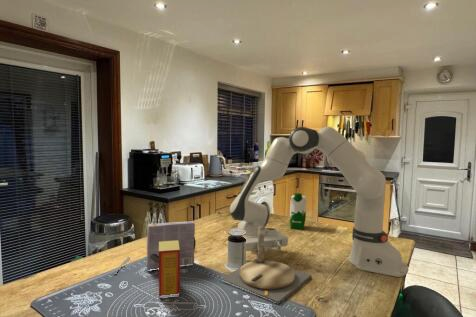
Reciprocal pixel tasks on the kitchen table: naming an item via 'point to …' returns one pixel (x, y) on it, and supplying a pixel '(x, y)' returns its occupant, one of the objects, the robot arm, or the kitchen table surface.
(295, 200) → the milk carton
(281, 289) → the base plate
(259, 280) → the dial
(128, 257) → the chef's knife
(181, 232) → the cake pan box
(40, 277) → the kitchen table surface
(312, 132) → the robot arm
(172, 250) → the baking soda box
